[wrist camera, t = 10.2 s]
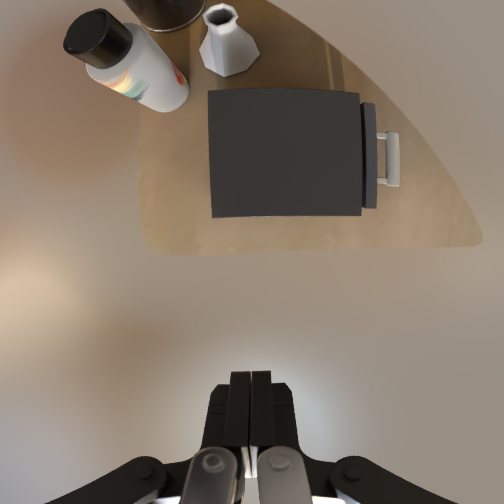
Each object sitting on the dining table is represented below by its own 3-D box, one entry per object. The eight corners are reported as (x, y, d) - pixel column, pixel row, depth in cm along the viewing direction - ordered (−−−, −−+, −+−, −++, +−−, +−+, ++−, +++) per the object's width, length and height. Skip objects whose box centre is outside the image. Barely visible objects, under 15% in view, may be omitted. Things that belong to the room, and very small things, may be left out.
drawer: (381, 120, 29) (411, 110, 22) (381, 200, 32) (412, 210, 25) (246, 113, 30) (243, 97, 22) (248, 199, 33) (246, 209, 25)
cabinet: (332, 111, 30) (359, 93, 21) (334, 203, 34) (361, 216, 24) (220, 111, 30) (207, 90, 21) (223, 204, 34) (211, 218, 25)
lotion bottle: (176, 64, 28) (104, -16, 9) (198, 95, 30) (133, 21, 11) (140, 90, 29) (43, 37, 10) (160, 121, 31) (62, 82, 12)
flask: (235, 21, 27) (229, -20, 17) (270, 56, 28) (275, 19, 19) (189, 50, 28) (168, 15, 18) (222, 86, 30) (210, 57, 20)
